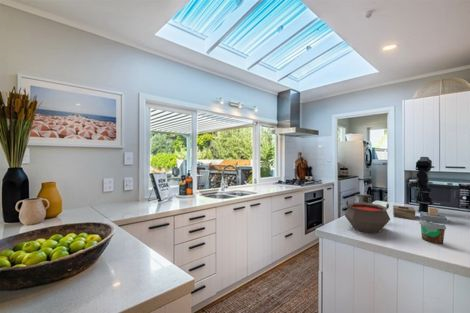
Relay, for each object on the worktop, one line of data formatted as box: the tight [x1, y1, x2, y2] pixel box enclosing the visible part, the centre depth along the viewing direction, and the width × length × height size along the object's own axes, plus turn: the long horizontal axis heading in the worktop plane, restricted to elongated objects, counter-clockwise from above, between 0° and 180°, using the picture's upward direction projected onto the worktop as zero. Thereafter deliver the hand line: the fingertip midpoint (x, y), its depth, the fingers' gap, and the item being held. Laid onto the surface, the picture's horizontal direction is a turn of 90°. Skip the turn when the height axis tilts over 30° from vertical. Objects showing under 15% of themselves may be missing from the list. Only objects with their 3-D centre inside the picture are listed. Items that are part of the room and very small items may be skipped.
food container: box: [418, 218, 447, 245], centre depth 117 cm, size 12×6×10 cm, turn 5°
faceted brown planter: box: [344, 200, 391, 234], centre depth 135 cm, size 24×24×16 cm
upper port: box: [392, 204, 416, 221], centre depth 162 cm, size 12×12×6 cm
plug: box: [428, 206, 439, 216], centre depth 153 cm, size 4×4×7 cm
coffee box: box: [354, 193, 373, 204], centre depth 157 cm, size 9×6×16 cm
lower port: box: [419, 212, 448, 225], centre depth 153 cm, size 12×12×4 cm
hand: (422, 200), depth 160 cm, fingers open, 9 cm apart
